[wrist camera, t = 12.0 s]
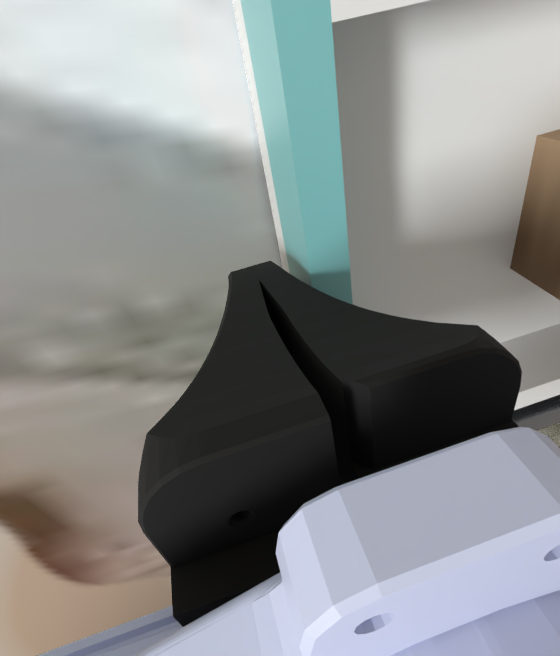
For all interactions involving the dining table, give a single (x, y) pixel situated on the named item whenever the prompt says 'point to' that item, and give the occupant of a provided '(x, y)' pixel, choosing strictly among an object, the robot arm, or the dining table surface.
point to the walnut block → (541, 218)
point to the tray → (410, 156)
